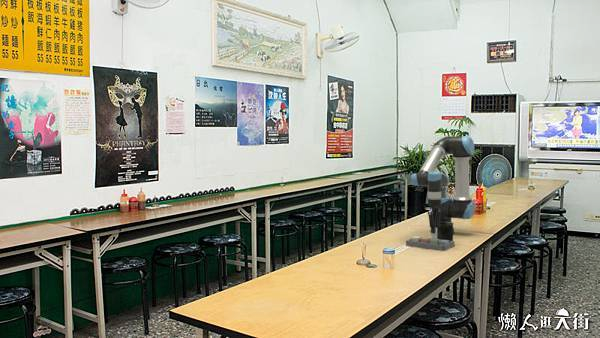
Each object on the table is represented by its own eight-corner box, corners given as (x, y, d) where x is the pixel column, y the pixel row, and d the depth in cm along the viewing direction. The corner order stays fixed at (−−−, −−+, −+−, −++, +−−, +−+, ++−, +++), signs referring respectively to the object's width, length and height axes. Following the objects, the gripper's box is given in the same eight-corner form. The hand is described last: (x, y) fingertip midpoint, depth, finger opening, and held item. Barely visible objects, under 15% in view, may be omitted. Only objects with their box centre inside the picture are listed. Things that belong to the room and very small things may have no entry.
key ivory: (415, 240, 316) (415, 236, 315) (421, 240, 313) (421, 237, 313) (411, 241, 312) (411, 237, 312) (418, 242, 309) (418, 238, 309)
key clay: (423, 241, 312) (423, 237, 312) (430, 242, 309) (430, 238, 309) (420, 242, 309) (420, 238, 308) (427, 243, 306) (427, 239, 306)
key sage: (432, 242, 308) (432, 238, 308) (439, 243, 305) (439, 239, 305) (429, 243, 305) (429, 239, 305) (436, 244, 302) (436, 240, 302)
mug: (448, 245, 313) (448, 225, 312) (426, 241, 323) (426, 222, 322) (456, 241, 321) (456, 222, 320) (435, 239, 330) (435, 220, 330)
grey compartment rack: (417, 242, 320) (417, 236, 320) (454, 247, 305) (454, 241, 304) (406, 247, 310) (406, 240, 309) (444, 252, 294) (444, 245, 294)
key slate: (442, 243, 304) (442, 239, 304) (449, 244, 302) (449, 240, 301) (438, 245, 301) (438, 240, 301) (445, 245, 298) (445, 241, 298)
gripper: (433, 197, 310) (433, 236, 312) (423, 199, 301) (423, 239, 302) (445, 197, 306) (445, 237, 307) (435, 200, 296) (435, 241, 297)
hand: (434, 238), depth 305 cm, fingers closed
